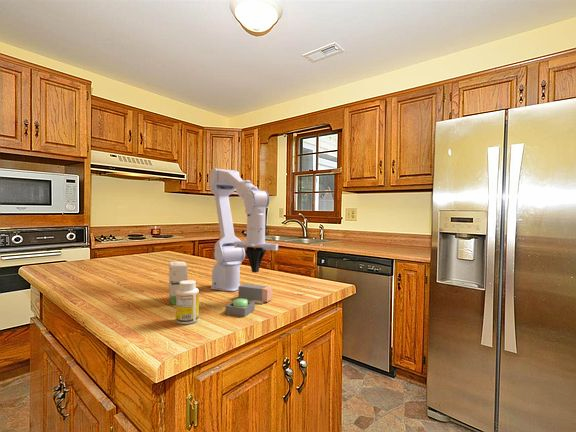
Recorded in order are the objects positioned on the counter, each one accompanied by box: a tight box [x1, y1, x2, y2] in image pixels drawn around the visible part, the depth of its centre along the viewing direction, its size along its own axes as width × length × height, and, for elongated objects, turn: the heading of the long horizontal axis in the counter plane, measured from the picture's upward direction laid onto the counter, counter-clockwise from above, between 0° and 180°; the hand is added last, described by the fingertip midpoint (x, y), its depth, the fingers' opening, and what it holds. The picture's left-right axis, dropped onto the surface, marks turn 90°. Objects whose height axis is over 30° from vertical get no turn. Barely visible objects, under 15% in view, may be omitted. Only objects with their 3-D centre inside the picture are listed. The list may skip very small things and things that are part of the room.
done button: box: [232, 298, 248, 308], centre depth 87 cm, size 4×4×3 cm
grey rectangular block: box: [237, 283, 273, 303], centre depth 99 cm, size 10×4×4 cm, turn 69°
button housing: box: [224, 301, 256, 318], centre depth 87 cm, size 6×6×2 cm
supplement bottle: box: [175, 279, 200, 325], centre depth 79 cm, size 6×6×10 cm
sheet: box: [239, 298, 266, 305], centre depth 99 cm, size 9×7×1 cm
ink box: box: [168, 261, 189, 306], centre depth 96 cm, size 9×5×12 cm, turn 26°
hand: (255, 271), depth 97 cm, fingers closed
